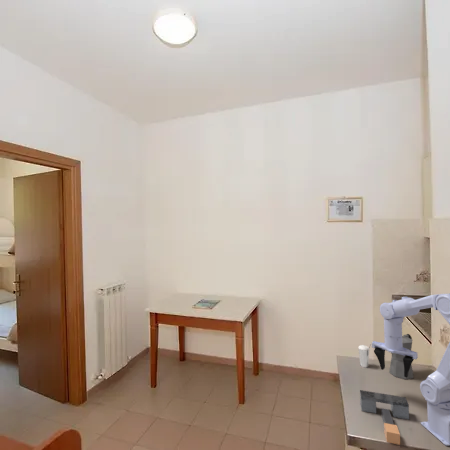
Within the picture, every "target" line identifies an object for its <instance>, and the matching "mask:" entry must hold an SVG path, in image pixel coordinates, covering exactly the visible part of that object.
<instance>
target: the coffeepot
mask: <svg viewBox="0 0 450 450" xmlns="http://www.w3.org/2000/svg"><path fill="white" fill-rule="evenodd" d="M402 343H403V348H406V349H409V350H411V351H412V346H413V338H412V336H411V334H409V333H407V334H402ZM390 354H391V359H390V364H389V365H390V366H389V372H388V373H389V374H390V375H392V376H393V377H396V378H397V379H402V380H411V379H414V371H413V366H412V364H411V366H410V369H409V373H408V377H404V362H403V358H404V357H405V356H404V355H400V354H397V353H391V352H390Z"/></svg>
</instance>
